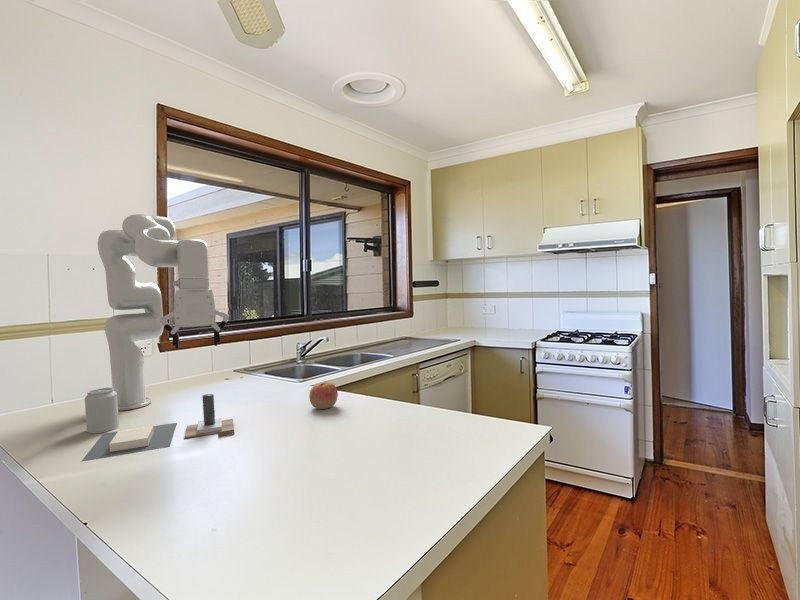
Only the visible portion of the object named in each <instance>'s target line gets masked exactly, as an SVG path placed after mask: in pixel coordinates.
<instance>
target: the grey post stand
mask: <svg viewBox="0 0 800 600" xmlns="http://www.w3.org/2000/svg"><path fill="white" fill-rule="evenodd" d="M201 398H202V411H203V412H202V414H203V420H199V421H198V422H197V424H198V427H197V434H201V433H207V432H213V431H219V430H222V420H223V419H222V418H221V417H220V418H216V414H215V413H216V412H215V411H216V410H215V397H214V393H206V394H203V395H202V397H201Z"/></svg>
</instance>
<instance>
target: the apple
mask: <svg viewBox="0 0 800 600" xmlns="http://www.w3.org/2000/svg"><path fill="white" fill-rule="evenodd" d="M338 393H339V392H338V389H337V386H336V385H335V384H334V383H333V382H330V381H325V382H319V383H316V384H314V385H313V386H312V387H311V389H310V390H309V395H308V396H309V402H310V404H311V406H312V407H313V408H315V409H317V410H325V409H330V408H332V407H333V406H335V404H336V403H337V400H338V395H339V394H338Z"/></svg>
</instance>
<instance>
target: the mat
mask: <svg viewBox="0 0 800 600" xmlns="http://www.w3.org/2000/svg"><path fill="white" fill-rule="evenodd" d="M177 425H178V422H173V423H165V424H159V425H152V426H153V428H154V434H153V436H152V438H151V440H150V443H149V445H148V446H144V447H138V448H132V449H126V450H120V451H114V452H110V446H109V444H110V442H111V441H112V439H113V438H114V437H115V435H116V434H117V432H118V431H119V430H117V431H112V432H103V433H102V435H101V436H100V437H99V438H98V439H97V441H96V442H95V443H94V444H93V446H92V447H91V448H90V450H89V451H88V452H87V454H86V455H85V456H84V457H83V458H82V460H81V461H80V462H86V461H88V462H89V461H92V460H99V459H105V458H110V457H115V456H117V457H118V456H122V455H129V454H134V453H135V454H136V453H140V452H146V451H153V450H159V449H165V448H170V447H171V445H172V441H173V437H174V434H175V430H176V427H177Z"/></svg>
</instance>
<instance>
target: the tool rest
mask: <svg viewBox="0 0 800 600" xmlns="http://www.w3.org/2000/svg"><path fill="white" fill-rule="evenodd" d="M197 427H198V423H197V424H196V423H195V424H190V425H187V426H186V429H185V433H184V440H186V439H187V440H189V439H194V438H200V437H205V436H207V437H208V436H212V435H217V437H222V436H229V435H230V436H231V435H235V424H234V419H233V418H230V419H222V430H219V431H213V432H207V433H201V434H197Z"/></svg>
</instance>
